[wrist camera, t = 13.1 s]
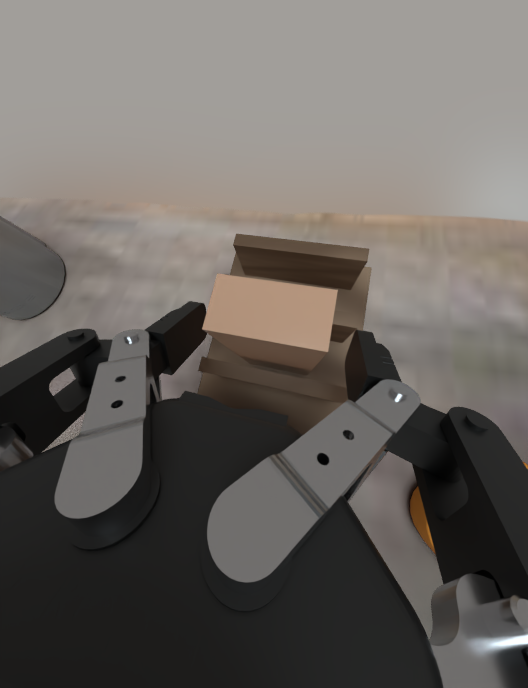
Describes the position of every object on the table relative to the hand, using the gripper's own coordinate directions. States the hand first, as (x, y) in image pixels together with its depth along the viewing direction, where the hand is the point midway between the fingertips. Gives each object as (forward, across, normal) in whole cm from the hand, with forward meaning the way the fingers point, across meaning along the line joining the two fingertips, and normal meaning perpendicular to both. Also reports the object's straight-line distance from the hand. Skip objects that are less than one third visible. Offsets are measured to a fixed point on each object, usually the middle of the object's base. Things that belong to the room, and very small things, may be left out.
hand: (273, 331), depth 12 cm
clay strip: (+6, 0, +6) cm, 8 cm away
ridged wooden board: (+7, 0, +6) cm, 9 cm away
